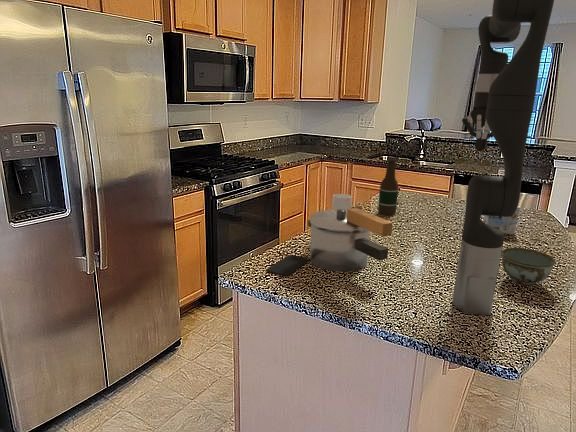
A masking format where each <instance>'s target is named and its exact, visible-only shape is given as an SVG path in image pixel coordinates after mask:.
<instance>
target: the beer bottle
mask: <svg viewBox="0 0 576 432" xmlns="http://www.w3.org/2000/svg"><path fill="white" fill-rule="evenodd" d="M386 161H387V165H386V171H385V175H384V178H383V179H382V180H381V182H380V186H379V194H378V205H377V206H378V207H377V212H378V214H379V215H382V216H385V217H386V216H387V217H388V216H389V217H390V216H392V217H393V216H394V215H396V214H397V205H398V197H399V182H398V180H397V178H396V162H397V159H395V158H388V159H387V160H386Z"/></svg>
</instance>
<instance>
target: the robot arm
mask: <svg viewBox="0 0 576 432" xmlns="http://www.w3.org/2000/svg"><path fill="white" fill-rule="evenodd" d="M492 2H493V4H492V10H491V11H492V13H491V15H490V14H489V15H486V16H484V17H483V18H482V19H481V21H480V22H479V24H478V29H477V31H478V38H479V44H480V64H479V65H480V66H479V71H478V76H477V80H476V85H475V91H474V92H475V93H474V97H473V98H474V99H473V106H472V110H471V111H470V113H469V115H467V116H466V117H464V118H462V119H461V122H462V123H463V125H464V126H465V128H466V129H467V132H468V133H469V135H470V136H472V137H474V138H475V140H476V141H475V145H474V149H475V150H476V152H484V151H485V150H486V149H487V146H488V140H489V138H490V139H491V138H494V140H495V141H496V143H497V145H498V148H499V151H500V152H501V156H502V159H503V164H504V165H503V166H504V171H503V172H504V174H503V176H496V175H482V174H479V175H474V176H472V177H471V179H470V180H469V182H468V186H467V191H466V201H465V210H464V212H465V213H464V221H463V229H462V235H461V241H460V242H461V243H460V247H459V255H458V262H457V267H456V274H455V281H454V287H453V293H452V294H453V295H452V300H451V302H452V305H454V307H456V308H457V309H459V310H461V311H462V313H463V314H470V315H482V316H491V311H492V308H493V304H494V298H495V292H496V286H497V280H498V274H499V270H500V264H501V260H502V250H504V248H503V247H504V242H505V233H503V232H501V231H500V230H498V229H496V228H494V227H492V226H489V225H487V224H486V223H484V220H482V218H481V217H482V215H483V216H485V215H490V216H502V217H510V216H512V215H514V213H515V212H516V210H517V207H519V202H520V197H521V190H522V182H523V181H522V180H523V170H524V160H525V152H526V145H527V140H528V135H529V130H530V126H531V121H532V116H533V112H534V106H535V100H536V94H537V88H538V79H539V73H540V66H541V60H542V55H543V50H544V45H545V41H546V37H547V33H548V29H549V25H550V20H551V17H552V11H553V7H554V4H555V3H554V2H555V0H493V1H492ZM522 23H529V24H530V26H529V29H528V32H527V34H526V37H525V39H524V41H523V42H522V44H521V45H520V47H519V48H518V50H517V51H516V52H515V54H514V55H513V56H512V58H511V59H510V60H509V54H508V53H507V52H503V51H500V50H497V49H496V50H495V49H494V48H493V47H492V45H491V44H492V43H493V44H497V43H498V44H499V43H500V44H501V43H503V44H504V43H505V44H506V43H513V42H514V41H516V40H517V39H518V37H519V35H520V33H521V32H520V31H521V27H522ZM472 122H473V123H474V124H475V126H476V129H475V128H474V125H473V124H472Z"/></svg>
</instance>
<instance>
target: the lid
mask: <svg viewBox="0 0 576 432" xmlns="http://www.w3.org/2000/svg"><path fill="white" fill-rule="evenodd" d="M309 218H310V219H309V220H310V223H311V225H312V226H314V227H316V228H318V229H321V230H325V231H329V232H336V233H357V232H363V231H366V230H368V231H370V233H373V234H375V235H377V236H378V237H382V238H384V237H389V236H392V234H393V222H392V221H389V220H387V219H385V218H382V217H380V216H377V215H375V214H372V213H370V212H368V211H365V210H363V209H362V210H361V209H358V208H354V207H351V208H350V209H347V210H342V209H339V210H332V209H325V210H324V209H323V210H319V211H315V212H313V213H312V214H310V217H309Z"/></svg>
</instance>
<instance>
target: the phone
mask: <svg viewBox="0 0 576 432" xmlns="http://www.w3.org/2000/svg"><path fill="white" fill-rule="evenodd" d="M308 262H310V258H308V257H303V256H298V255H294V254H289V255H286V256H285V257H284V258H282V259H280V260H279V261H278V262H275V263H274V264H273V265H271V266H270V267H268V268H267V269H266V272H267V273H270V274H273V275H276V276H277V275H278V276H281V277H289V276H291V275H292V274H294V273H295V272H297V270H299V269H301V268H302V267H303V266H305V264H307V263H308Z"/></svg>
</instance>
